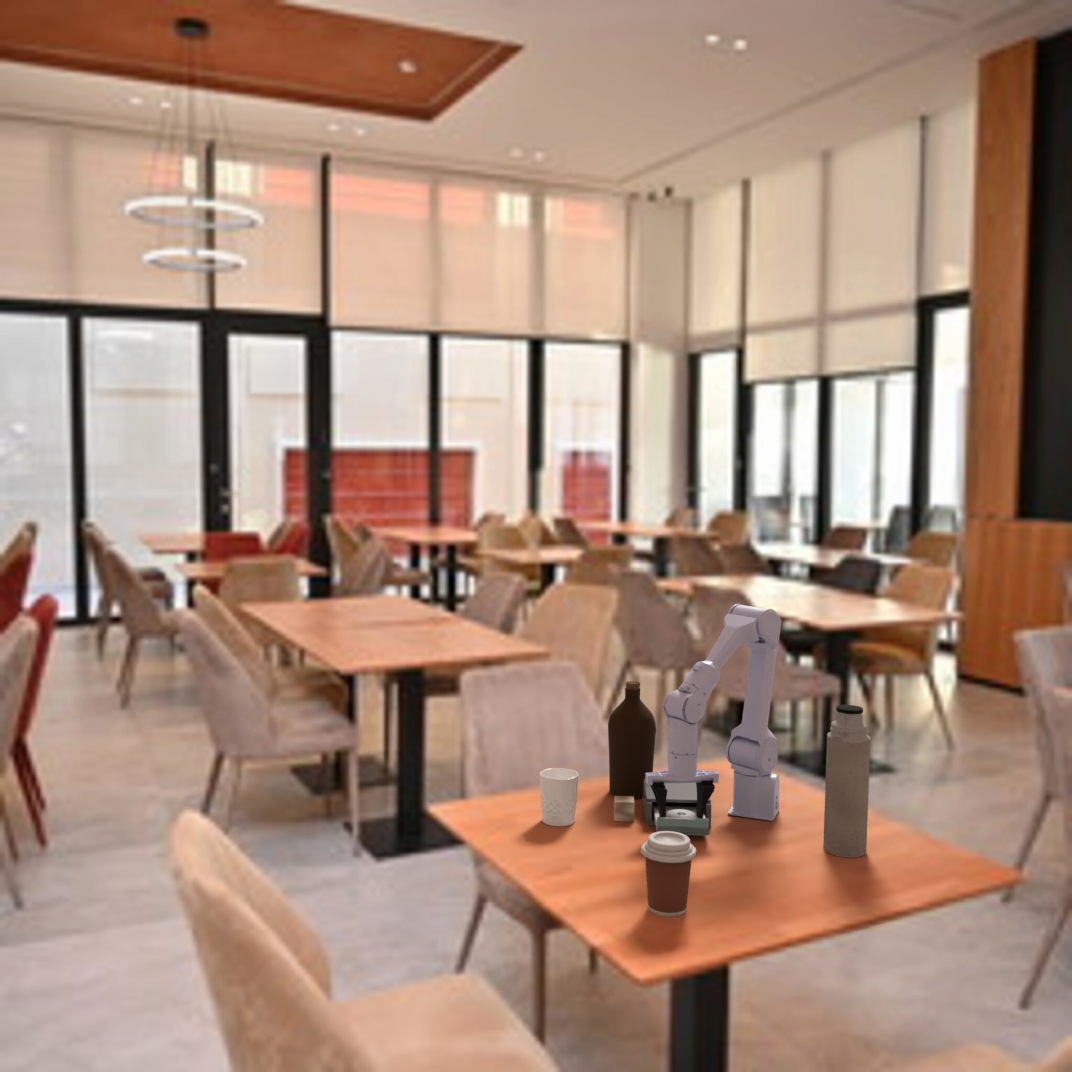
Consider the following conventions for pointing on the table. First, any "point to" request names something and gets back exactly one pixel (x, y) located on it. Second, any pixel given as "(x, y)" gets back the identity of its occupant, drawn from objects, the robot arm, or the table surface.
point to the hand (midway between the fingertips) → (681, 818)
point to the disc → (681, 813)
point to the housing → (673, 799)
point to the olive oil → (630, 744)
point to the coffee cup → (668, 872)
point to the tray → (681, 822)
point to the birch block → (624, 808)
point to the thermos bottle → (847, 784)
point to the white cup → (558, 796)
